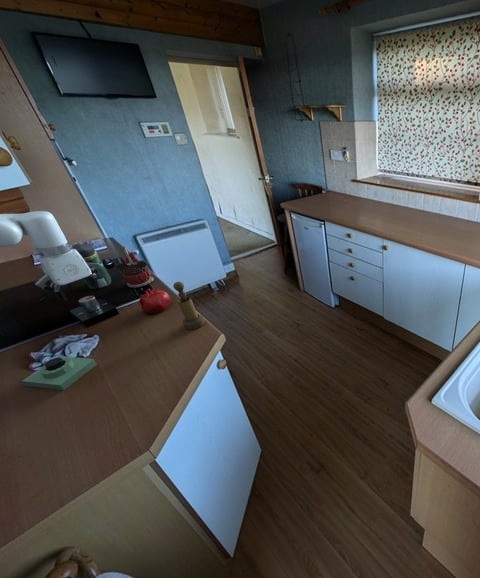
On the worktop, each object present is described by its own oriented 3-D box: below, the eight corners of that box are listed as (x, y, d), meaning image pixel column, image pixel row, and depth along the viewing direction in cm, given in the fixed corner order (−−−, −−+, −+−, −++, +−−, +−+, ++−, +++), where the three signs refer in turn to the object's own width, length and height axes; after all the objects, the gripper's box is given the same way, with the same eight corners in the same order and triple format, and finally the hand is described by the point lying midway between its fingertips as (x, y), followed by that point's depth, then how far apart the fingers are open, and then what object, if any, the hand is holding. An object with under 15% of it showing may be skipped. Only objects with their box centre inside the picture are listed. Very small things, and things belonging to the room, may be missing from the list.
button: (44, 370, 84) (40, 365, 83) (57, 361, 87) (54, 356, 86) (55, 371, 83) (52, 367, 82) (68, 362, 86) (65, 357, 85)
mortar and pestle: (180, 327, 106) (161, 285, 97) (195, 317, 111) (179, 276, 102) (193, 331, 104) (175, 289, 95) (208, 321, 109) (193, 280, 100)
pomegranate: (176, 299, 121) (168, 280, 116) (168, 313, 113) (159, 293, 108) (148, 303, 119) (139, 283, 114) (138, 317, 111) (127, 297, 106)
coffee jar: (90, 282, 132) (67, 244, 122) (112, 277, 136) (92, 240, 126) (88, 292, 125) (63, 252, 116) (111, 286, 129) (90, 248, 120)
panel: (73, 317, 111) (69, 310, 109) (105, 304, 118) (101, 297, 116) (86, 327, 105) (82, 320, 104) (119, 313, 113) (115, 307, 111)
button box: (26, 386, 83) (17, 376, 81) (62, 360, 92) (55, 351, 90) (64, 390, 82) (56, 380, 80) (97, 364, 91) (91, 354, 89)
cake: (123, 290, 127) (103, 252, 117) (130, 280, 134) (111, 244, 125) (153, 286, 130) (135, 248, 121) (157, 276, 138) (141, 240, 128)
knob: (87, 313, 107) (80, 303, 105) (82, 310, 109) (75, 299, 107) (102, 307, 111) (96, 297, 108) (97, 304, 113) (90, 293, 110)
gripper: (26, 261, 89) (56, 308, 98) (92, 242, 103) (113, 284, 112) (12, 257, 91) (43, 303, 100) (79, 239, 105) (101, 280, 114)
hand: (80, 293), depth 106 cm, fingers open, 9 cm apart
